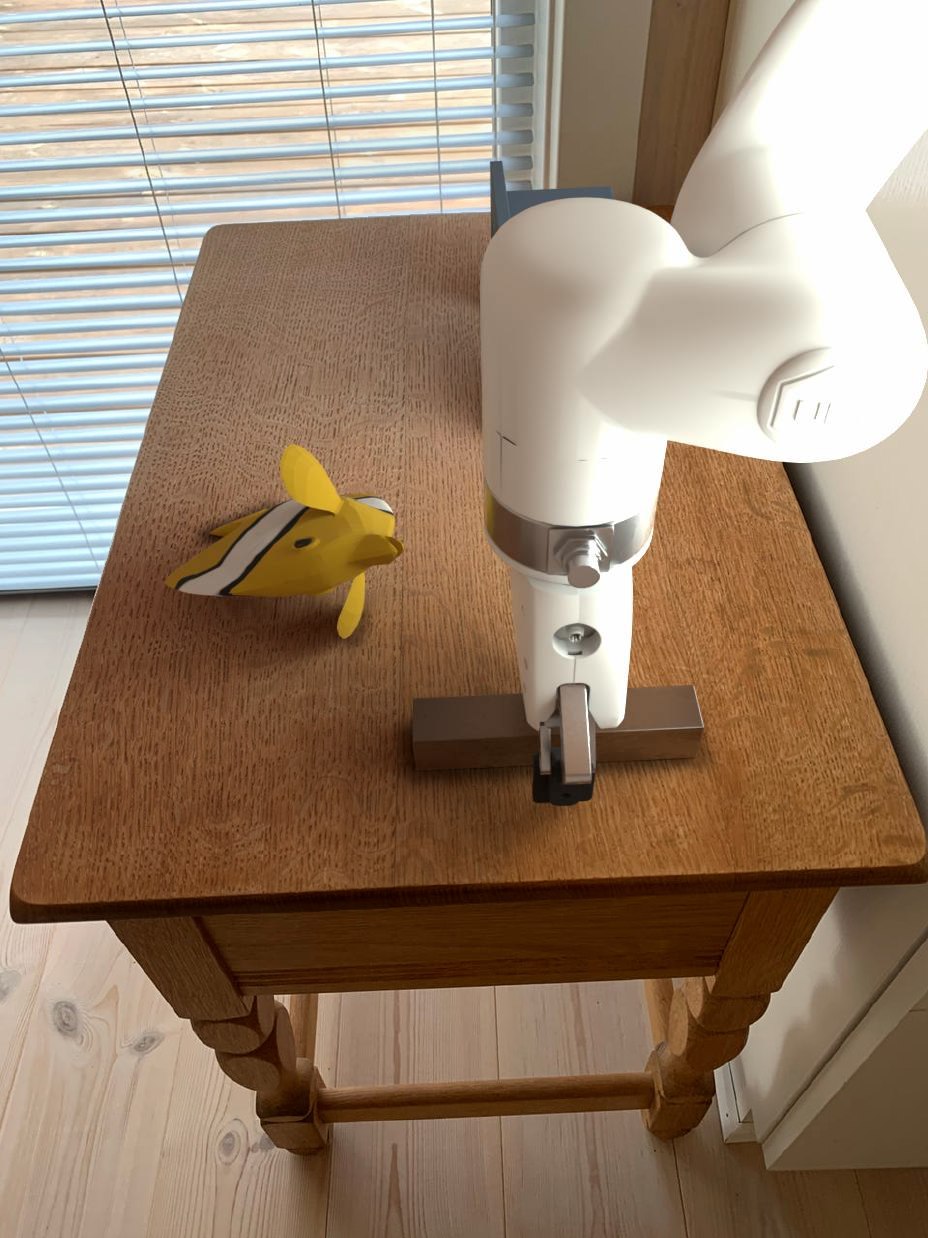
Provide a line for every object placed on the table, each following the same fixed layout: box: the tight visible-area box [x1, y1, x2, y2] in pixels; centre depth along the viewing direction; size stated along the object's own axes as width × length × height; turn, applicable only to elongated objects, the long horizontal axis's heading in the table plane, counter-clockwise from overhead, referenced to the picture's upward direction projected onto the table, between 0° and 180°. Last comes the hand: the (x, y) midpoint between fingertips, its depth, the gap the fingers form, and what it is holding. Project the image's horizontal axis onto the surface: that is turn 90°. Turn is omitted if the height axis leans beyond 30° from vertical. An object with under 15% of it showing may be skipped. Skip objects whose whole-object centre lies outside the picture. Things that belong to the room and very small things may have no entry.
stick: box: [412, 684, 705, 772], centre depth 56 cm, size 16×3×3 cm, turn 92°
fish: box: [164, 443, 405, 640], centre depth 62 cm, size 20×12×15 cm
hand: (553, 729), depth 56 cm, fingers open, 8 cm apart
